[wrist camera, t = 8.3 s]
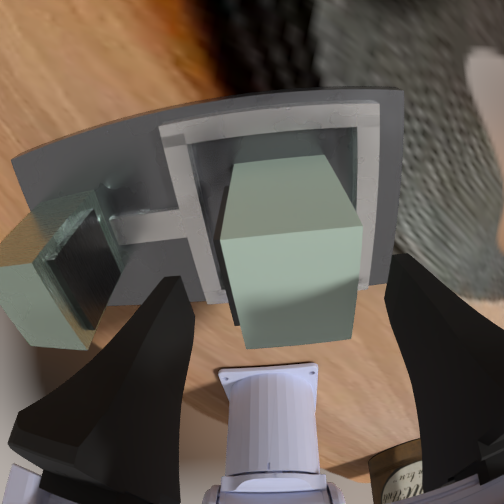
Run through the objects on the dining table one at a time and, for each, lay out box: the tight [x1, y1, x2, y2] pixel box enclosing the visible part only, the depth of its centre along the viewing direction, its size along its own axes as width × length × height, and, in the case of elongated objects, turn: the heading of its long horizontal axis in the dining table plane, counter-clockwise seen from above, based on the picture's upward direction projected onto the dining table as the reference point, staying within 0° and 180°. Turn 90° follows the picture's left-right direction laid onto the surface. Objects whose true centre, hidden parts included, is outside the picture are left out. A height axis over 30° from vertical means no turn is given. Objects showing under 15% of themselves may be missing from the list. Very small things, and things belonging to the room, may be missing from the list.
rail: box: [0, 86, 404, 350], centre depth 13 cm, size 20×11×7 cm, turn 97°
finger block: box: [213, 155, 363, 349], centre depth 13 cm, size 4×5×6 cm
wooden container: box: [368, 439, 423, 504], centre depth 34 cm, size 15×15×22 cm
